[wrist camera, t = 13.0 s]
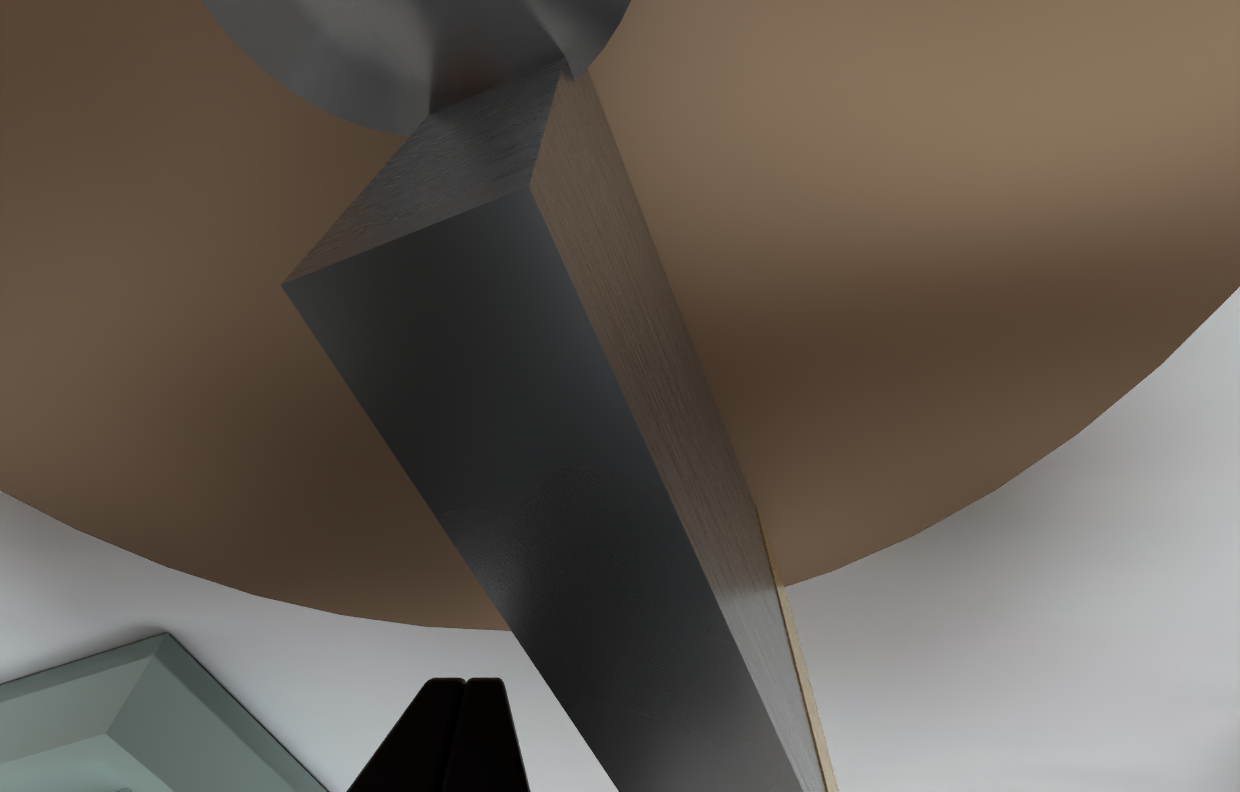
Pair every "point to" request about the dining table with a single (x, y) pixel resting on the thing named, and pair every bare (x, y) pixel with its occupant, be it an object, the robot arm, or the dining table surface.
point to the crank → (546, 379)
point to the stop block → (124, 790)
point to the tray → (137, 729)
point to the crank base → (684, 238)
